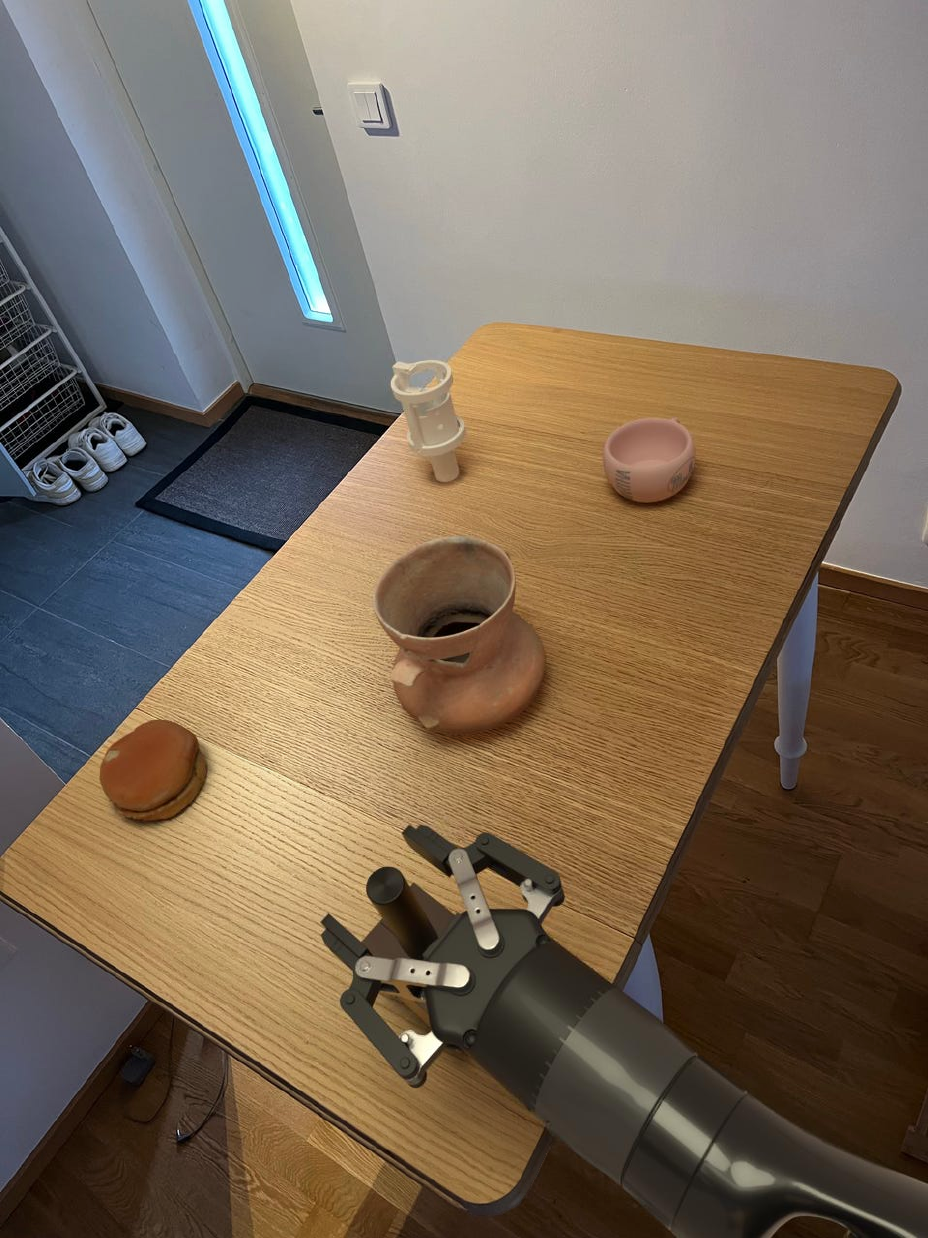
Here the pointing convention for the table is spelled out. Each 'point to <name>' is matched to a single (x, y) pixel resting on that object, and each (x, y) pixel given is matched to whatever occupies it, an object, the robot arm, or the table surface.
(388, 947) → the knife block
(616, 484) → the mug
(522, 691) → the ceramic jug
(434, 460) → the strainer
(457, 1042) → the robot arm
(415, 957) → the black tall cylinder
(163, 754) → the burger
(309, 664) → the table surface
